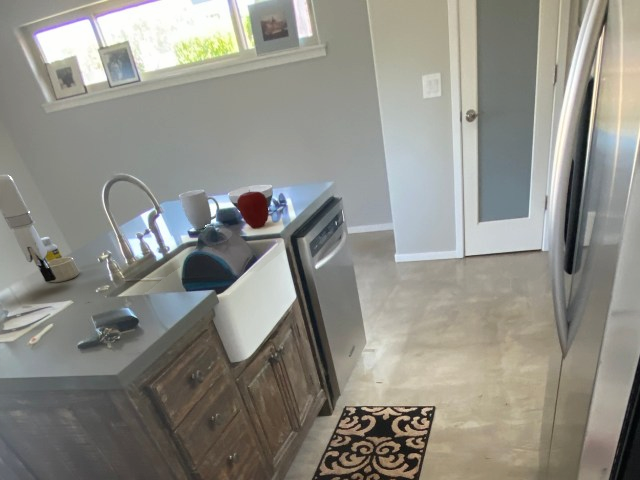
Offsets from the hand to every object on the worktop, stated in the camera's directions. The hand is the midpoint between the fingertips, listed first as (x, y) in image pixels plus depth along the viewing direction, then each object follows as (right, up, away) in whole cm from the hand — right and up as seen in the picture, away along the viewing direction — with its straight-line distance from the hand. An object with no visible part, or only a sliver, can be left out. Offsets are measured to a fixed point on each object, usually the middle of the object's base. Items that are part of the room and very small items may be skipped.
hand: (51, 280), depth 177 cm
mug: (+37, +44, +47) cm, 75 cm away
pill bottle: (-10, +12, +20) cm, 25 cm away
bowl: (+57, +53, +53) cm, 94 cm away
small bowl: (-3, +7, +13) cm, 15 cm away
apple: (+63, +38, +35) cm, 81 cm away
